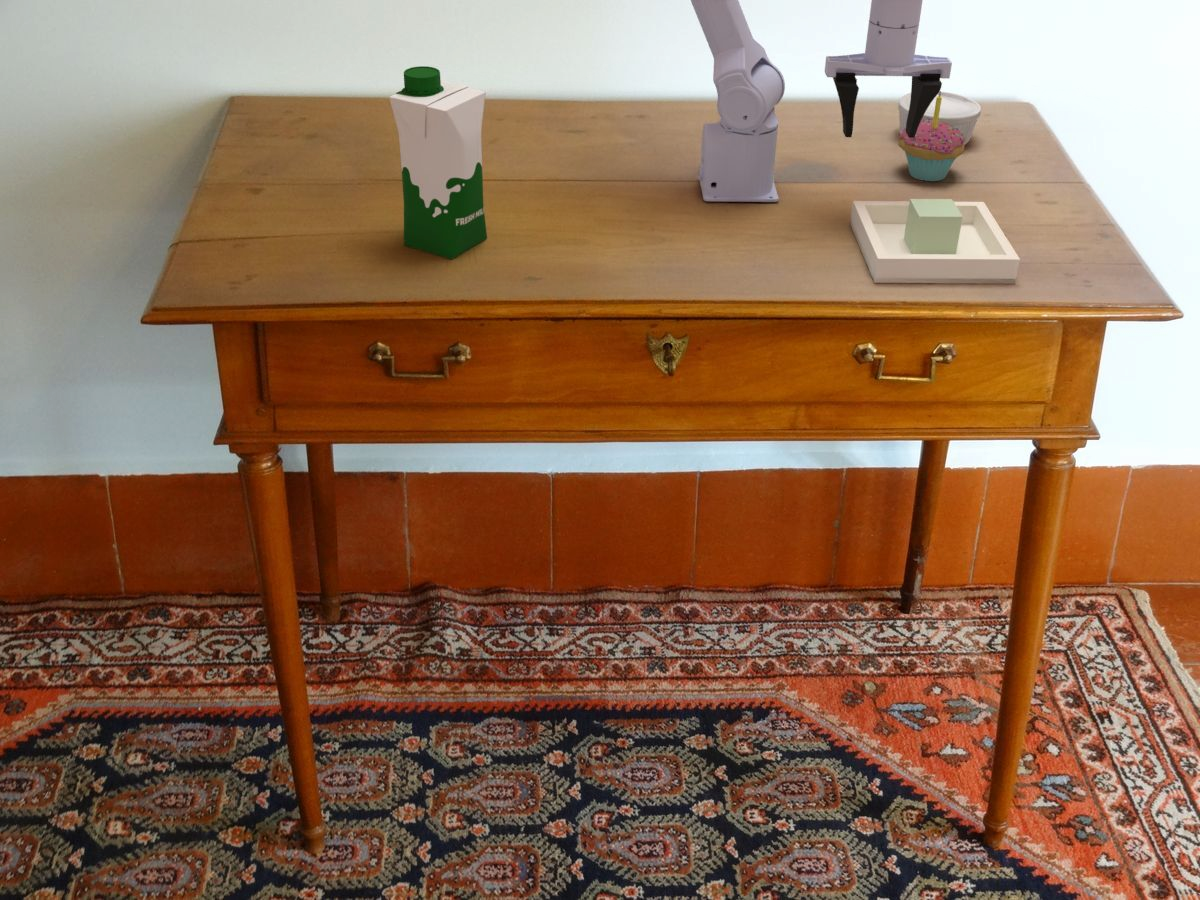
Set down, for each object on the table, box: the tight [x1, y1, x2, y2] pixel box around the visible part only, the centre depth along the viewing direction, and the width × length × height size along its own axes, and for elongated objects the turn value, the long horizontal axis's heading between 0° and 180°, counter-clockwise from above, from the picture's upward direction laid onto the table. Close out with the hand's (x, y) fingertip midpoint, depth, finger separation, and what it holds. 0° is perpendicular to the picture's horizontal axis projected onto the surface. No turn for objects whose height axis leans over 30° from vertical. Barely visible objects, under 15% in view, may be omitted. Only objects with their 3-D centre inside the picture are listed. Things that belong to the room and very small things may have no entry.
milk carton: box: [389, 65, 488, 260], centre depth 154 cm, size 9×9×20 cm
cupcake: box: [897, 90, 965, 182], centre depth 176 cm, size 9×8×12 cm
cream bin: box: [849, 200, 1021, 285], centre depth 158 cm, size 16×16×3 cm
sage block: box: [904, 198, 963, 254], centre depth 157 cm, size 5×5×5 cm
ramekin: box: [897, 91, 982, 146], centre depth 189 cm, size 11×11×5 cm
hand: (878, 134), depth 163 cm, fingers open, 7 cm apart
